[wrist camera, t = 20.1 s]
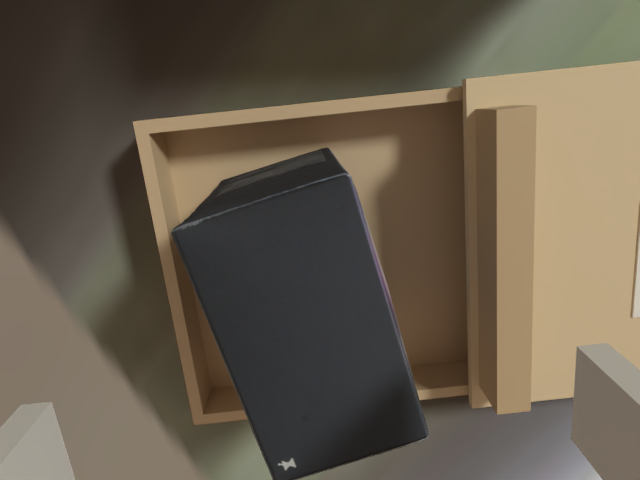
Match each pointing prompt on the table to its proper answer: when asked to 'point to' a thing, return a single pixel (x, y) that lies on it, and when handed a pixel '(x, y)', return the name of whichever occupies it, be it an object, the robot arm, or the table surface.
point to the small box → (302, 315)
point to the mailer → (376, 199)
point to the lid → (550, 227)
